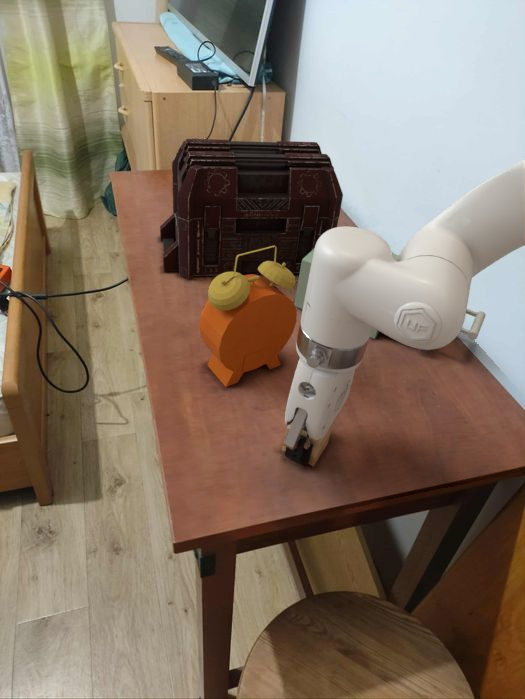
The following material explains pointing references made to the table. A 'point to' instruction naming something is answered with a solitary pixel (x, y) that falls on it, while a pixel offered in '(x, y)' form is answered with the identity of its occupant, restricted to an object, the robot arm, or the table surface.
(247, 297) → the alarm clock
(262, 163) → the crate
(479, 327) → the drawer
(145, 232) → the table surface
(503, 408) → the table surface
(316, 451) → the block
